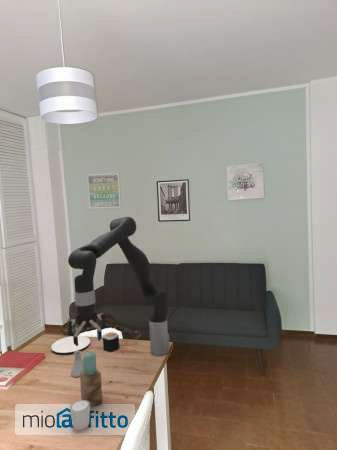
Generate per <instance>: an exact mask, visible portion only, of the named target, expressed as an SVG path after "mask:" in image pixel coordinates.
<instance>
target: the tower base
mask: <svg viewBox="0 0 337 450" xmlns="http://www.w3.org/2000/svg"><path fill="white" fill-rule="evenodd" d="M102 390H103V389H102V387H101V388H99V389H97V390H95V391H92V392H90V393H88V394H87V393H86V392H85V391H84V390H83V389H82V388H81V387H80V397H81V399H80V400H87V401H89V402H90V409H91V408H94V407H97V406H98V407H99V406H100V405H103V392H102Z"/></svg>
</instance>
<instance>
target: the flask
mask: <svg viewBox="0 0 337 450" xmlns="http://www.w3.org/2000/svg"><path fill="white" fill-rule="evenodd" d="M81 354H82V351H81V350H79V351H76V352H73V355H74V361H73V366H72V369H71V373H70V377H73V378H80V372H82V371H83V358H82V355H81Z"/></svg>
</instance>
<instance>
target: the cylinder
mask: <svg viewBox="0 0 337 450" xmlns="http://www.w3.org/2000/svg"><path fill="white" fill-rule="evenodd" d="M82 361H83V374H84V375H85V376H91V375H94V374H95V373H96V372H97V371H96V369H97V354H96V352H91V351H90V352H86V353H84V354H83V355H82Z"/></svg>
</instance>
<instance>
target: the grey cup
mask: <svg viewBox="0 0 337 450" xmlns="http://www.w3.org/2000/svg"><path fill="white" fill-rule="evenodd" d="M69 411H70V416H71V422H72V428H73V429H74V430H76V431H80V430H81V431H82V430H84V429H86V428H87V427H88V426H89V425H90V413H91V408H90V402H89V401H87V400H82V399H79V400H77V401H75V402H72V403H71V404H70V407H69Z"/></svg>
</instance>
